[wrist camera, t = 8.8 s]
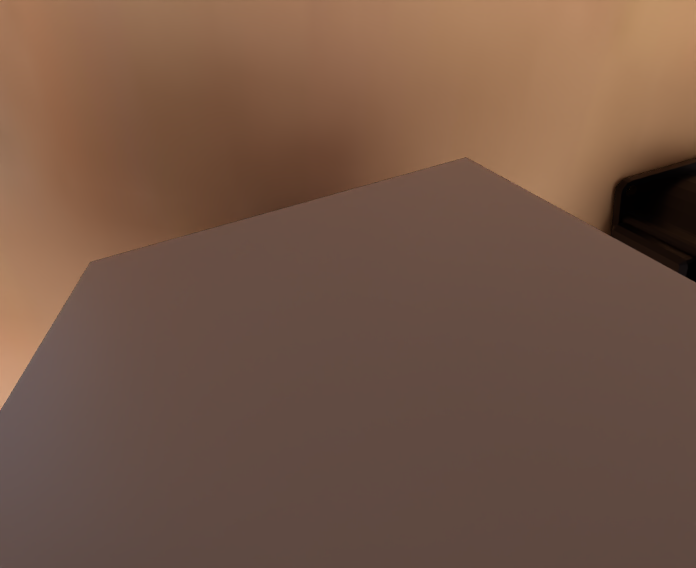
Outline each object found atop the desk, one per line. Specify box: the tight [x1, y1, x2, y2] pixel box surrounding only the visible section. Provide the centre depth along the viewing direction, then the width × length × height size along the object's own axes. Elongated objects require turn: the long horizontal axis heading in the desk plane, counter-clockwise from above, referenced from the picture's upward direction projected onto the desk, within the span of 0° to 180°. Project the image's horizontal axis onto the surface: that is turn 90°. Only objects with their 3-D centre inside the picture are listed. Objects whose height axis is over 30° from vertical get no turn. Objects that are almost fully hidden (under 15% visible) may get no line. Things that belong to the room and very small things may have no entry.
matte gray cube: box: [0, 158, 696, 568], centre depth 7 cm, size 8×8×9 cm
